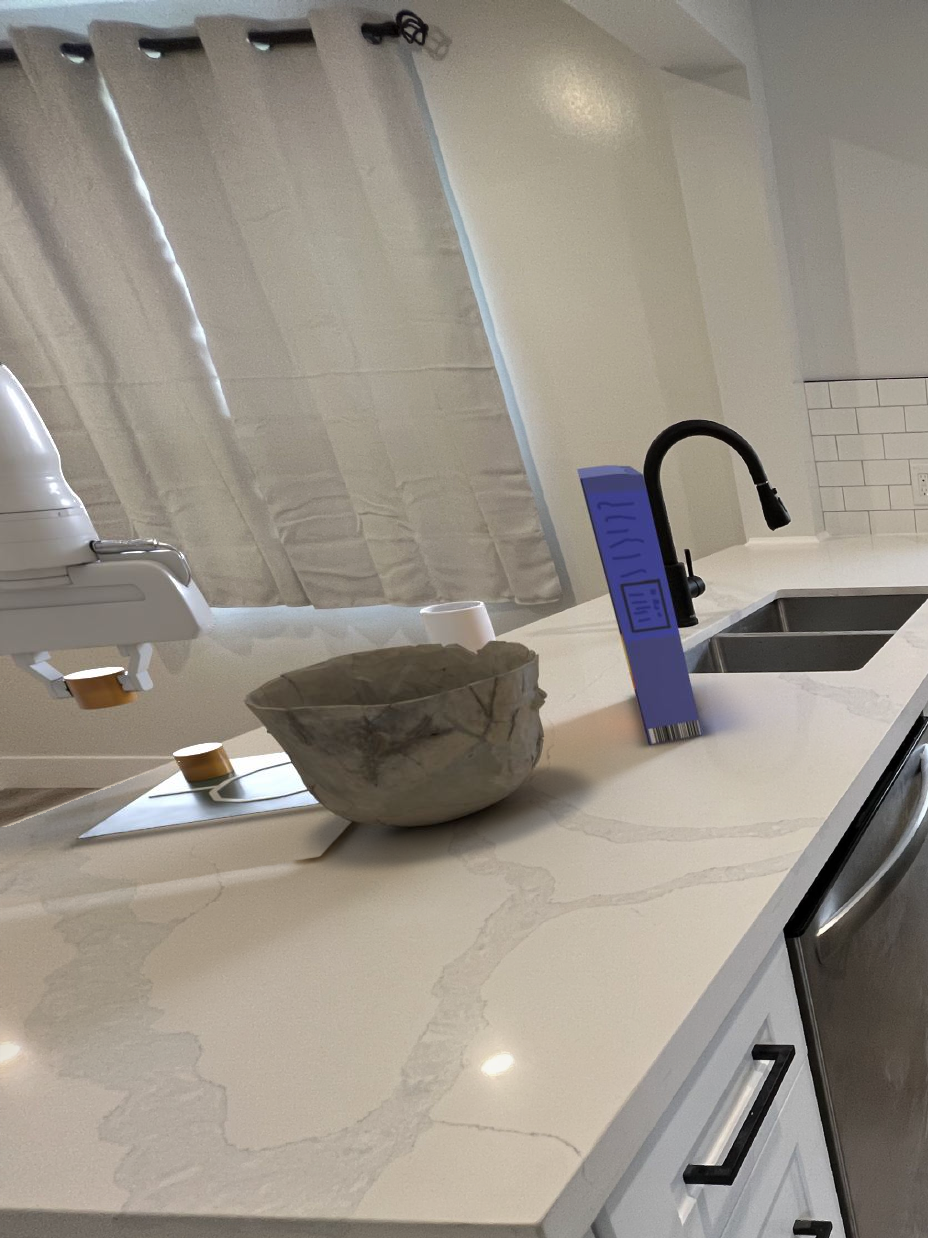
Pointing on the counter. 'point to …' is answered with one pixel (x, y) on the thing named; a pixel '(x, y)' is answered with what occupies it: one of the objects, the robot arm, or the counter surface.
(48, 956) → the counter surface
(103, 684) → the orange white short cylinder
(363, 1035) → the counter surface
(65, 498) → the robot arm
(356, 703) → the bowl
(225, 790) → the board
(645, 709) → the cereal box
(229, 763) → the short orange cylinder
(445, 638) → the white plastic cylinder
